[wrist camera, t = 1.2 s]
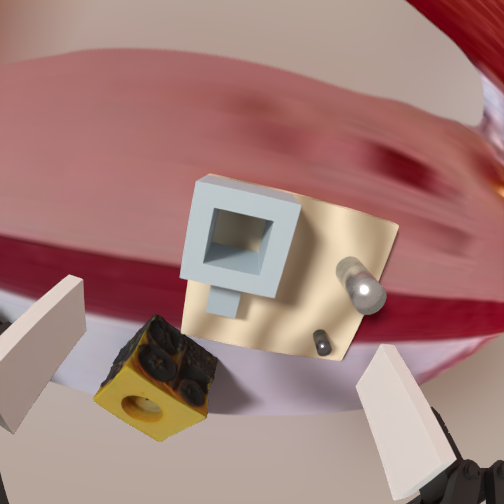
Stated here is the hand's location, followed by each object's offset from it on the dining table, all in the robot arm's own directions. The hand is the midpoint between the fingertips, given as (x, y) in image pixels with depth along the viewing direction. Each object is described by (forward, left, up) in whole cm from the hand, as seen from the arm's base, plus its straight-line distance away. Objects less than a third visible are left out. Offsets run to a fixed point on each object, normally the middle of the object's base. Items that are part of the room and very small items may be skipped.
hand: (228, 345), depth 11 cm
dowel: (+11, -10, -17) cm, 23 cm away
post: (+12, -2, -17) cm, 21 cm away
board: (+6, -5, -19) cm, 20 cm away
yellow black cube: (-6, -19, -19) cm, 28 cm away
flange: (0, -2, -17) cm, 17 cm away
